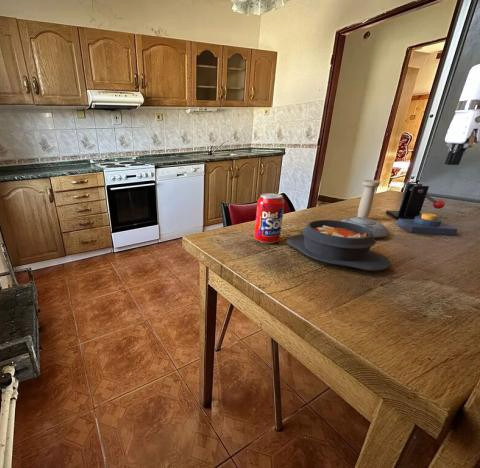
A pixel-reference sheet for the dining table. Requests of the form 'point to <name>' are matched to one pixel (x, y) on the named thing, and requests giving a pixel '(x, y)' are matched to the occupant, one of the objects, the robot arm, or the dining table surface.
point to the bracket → (411, 202)
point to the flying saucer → (369, 225)
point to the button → (428, 216)
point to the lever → (436, 204)
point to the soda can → (269, 218)
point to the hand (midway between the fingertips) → (451, 164)
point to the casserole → (339, 245)
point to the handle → (367, 197)
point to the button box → (427, 226)
